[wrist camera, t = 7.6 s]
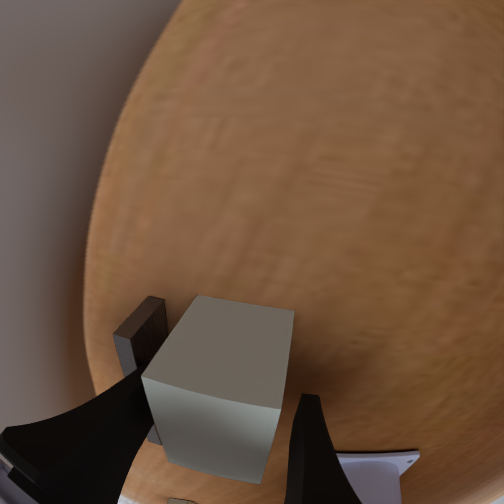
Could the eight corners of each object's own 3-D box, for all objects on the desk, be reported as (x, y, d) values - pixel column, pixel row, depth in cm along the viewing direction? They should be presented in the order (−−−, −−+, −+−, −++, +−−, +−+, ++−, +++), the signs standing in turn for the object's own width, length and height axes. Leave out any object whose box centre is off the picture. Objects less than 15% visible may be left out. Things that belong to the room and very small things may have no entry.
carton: (294, 309, 11) (280, 409, 7) (276, 402, 13) (259, 484, 9) (195, 293, 12) (136, 374, 7) (199, 387, 14) (165, 461, 10)
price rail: (182, 409, 15) (164, 446, 12) (164, 404, 15) (145, 439, 13) (168, 300, 12) (134, 341, 9) (144, 295, 12) (108, 332, 10)
